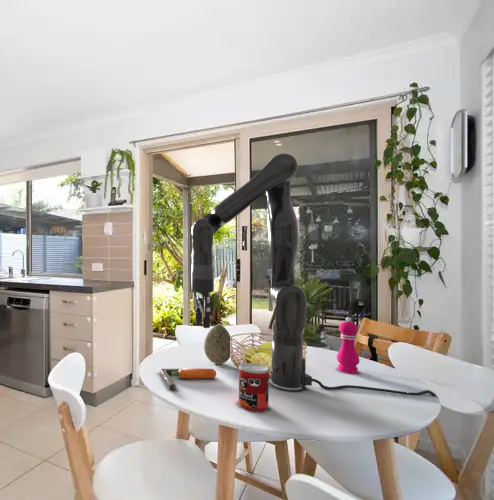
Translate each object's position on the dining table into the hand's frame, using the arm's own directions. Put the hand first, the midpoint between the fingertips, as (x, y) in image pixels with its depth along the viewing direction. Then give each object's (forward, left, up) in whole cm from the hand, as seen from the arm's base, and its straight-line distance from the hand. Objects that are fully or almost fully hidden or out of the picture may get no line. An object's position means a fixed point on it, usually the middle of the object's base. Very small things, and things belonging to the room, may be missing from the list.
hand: (202, 325), depth 126 cm
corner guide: (+5, +2, -18) cm, 19 cm away
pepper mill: (-58, -8, -18) cm, 61 cm away
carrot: (+1, -1, -18) cm, 18 cm away
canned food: (-8, +22, -18) cm, 30 cm away
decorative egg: (-12, -18, -18) cm, 28 cm away
